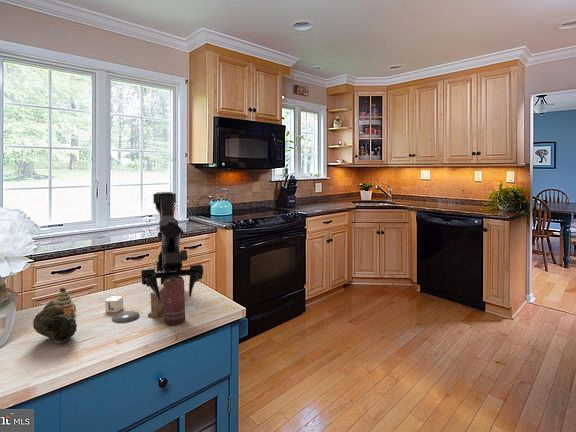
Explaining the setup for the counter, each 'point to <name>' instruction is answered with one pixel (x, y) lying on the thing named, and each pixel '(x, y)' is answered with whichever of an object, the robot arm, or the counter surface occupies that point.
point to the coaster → (125, 316)
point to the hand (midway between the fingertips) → (174, 298)
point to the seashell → (55, 323)
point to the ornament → (65, 302)
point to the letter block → (114, 304)
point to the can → (174, 300)
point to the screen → (157, 303)
